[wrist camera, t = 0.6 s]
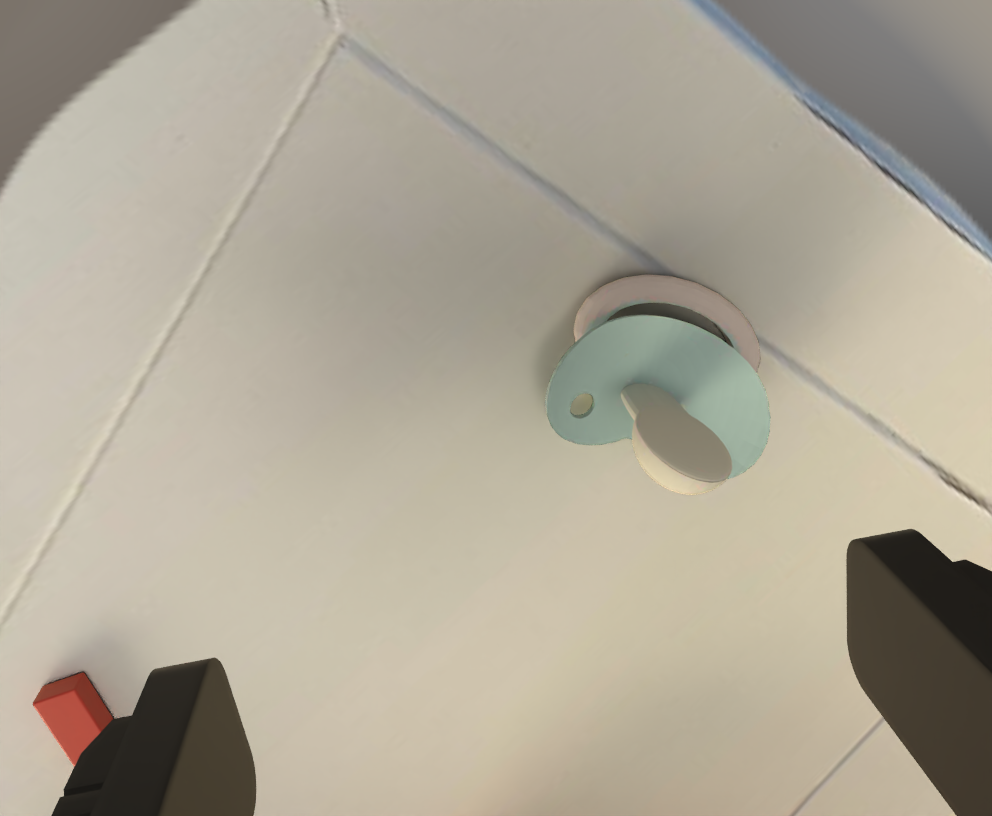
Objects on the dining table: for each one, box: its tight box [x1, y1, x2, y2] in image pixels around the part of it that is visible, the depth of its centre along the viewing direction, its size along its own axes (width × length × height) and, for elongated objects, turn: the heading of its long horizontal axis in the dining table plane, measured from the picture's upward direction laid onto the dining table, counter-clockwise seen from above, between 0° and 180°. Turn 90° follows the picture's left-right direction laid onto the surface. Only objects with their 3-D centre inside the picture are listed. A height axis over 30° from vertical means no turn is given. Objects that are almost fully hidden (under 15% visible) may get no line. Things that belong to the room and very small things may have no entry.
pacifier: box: [545, 274, 770, 495], centre depth 26 cm, size 7×6×6 cm
